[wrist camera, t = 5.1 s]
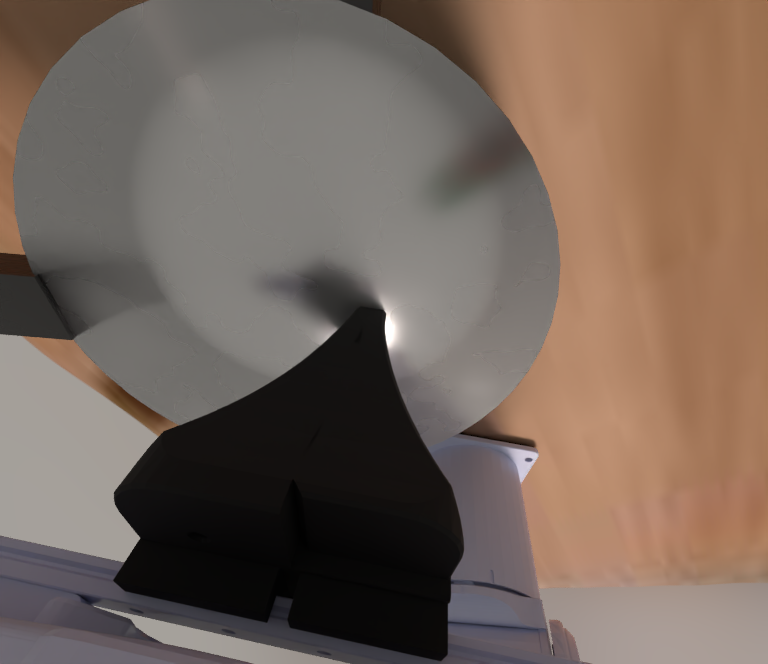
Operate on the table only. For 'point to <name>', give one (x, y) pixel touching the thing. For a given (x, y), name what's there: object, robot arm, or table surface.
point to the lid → (277, 209)
